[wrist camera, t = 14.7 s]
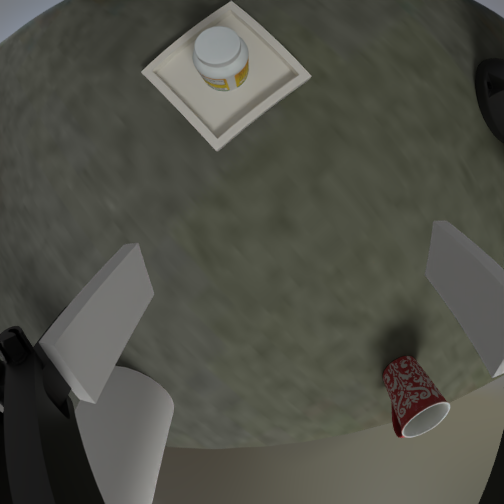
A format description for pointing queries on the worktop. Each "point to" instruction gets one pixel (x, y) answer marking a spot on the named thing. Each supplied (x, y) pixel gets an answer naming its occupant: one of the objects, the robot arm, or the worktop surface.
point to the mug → (413, 398)
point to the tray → (231, 102)
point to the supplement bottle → (221, 58)
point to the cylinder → (126, 435)
